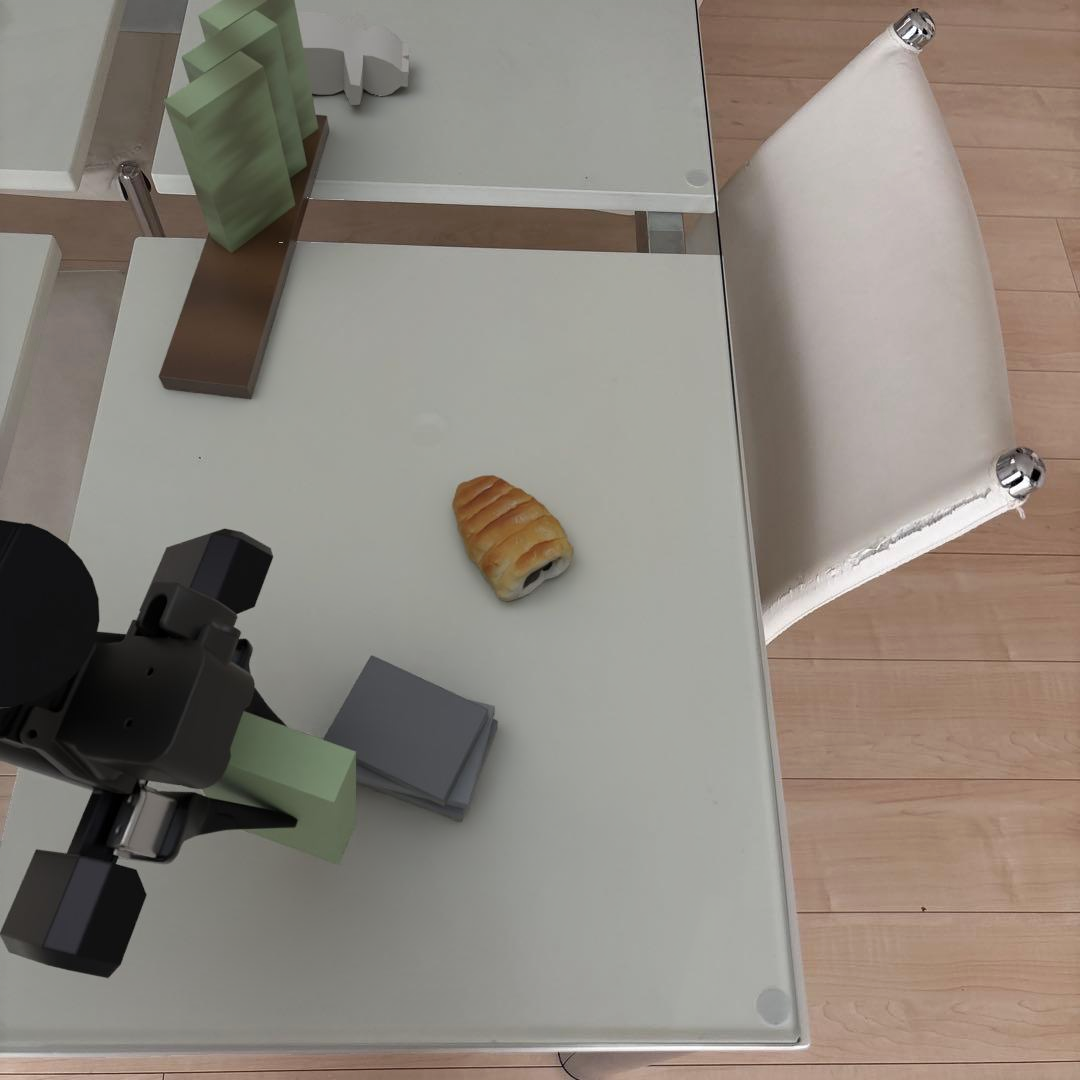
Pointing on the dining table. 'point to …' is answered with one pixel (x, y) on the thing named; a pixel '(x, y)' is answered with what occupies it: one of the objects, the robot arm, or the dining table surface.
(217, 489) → the dining table surface
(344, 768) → the green book
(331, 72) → the white curved block
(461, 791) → the grey books
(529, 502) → the pastry
